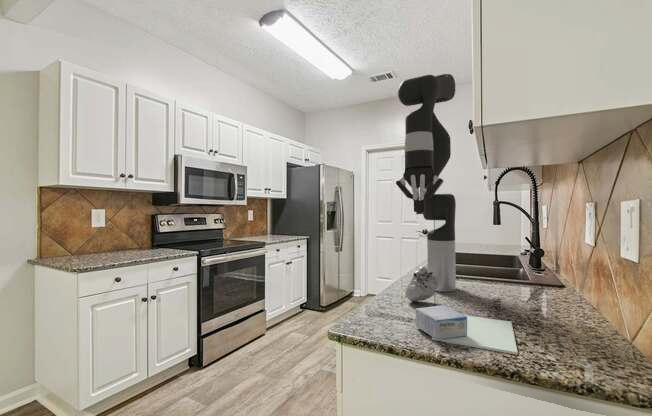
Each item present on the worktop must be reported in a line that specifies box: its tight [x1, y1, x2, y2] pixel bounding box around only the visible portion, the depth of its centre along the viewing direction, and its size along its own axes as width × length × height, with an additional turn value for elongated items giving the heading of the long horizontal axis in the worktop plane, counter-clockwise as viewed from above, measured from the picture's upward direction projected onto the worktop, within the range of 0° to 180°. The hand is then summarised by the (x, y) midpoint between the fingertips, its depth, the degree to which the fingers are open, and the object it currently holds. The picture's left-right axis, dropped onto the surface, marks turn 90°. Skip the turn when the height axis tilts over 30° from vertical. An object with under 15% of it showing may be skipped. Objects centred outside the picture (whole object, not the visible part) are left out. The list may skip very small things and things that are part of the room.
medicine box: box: [415, 304, 468, 341], centre depth 71 cm, size 8×4×9 cm
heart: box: [405, 266, 439, 305], centre depth 93 cm, size 10×10×12 cm
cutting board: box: [431, 314, 519, 356], centre depth 72 cm, size 18×16×1 cm
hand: (419, 213), depth 86 cm, fingers closed
